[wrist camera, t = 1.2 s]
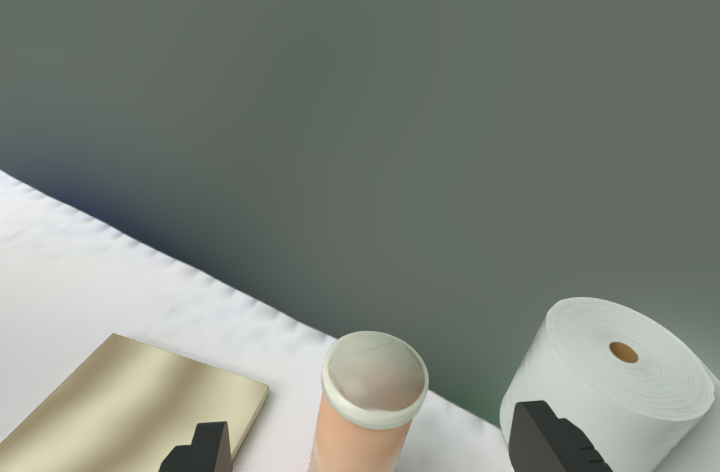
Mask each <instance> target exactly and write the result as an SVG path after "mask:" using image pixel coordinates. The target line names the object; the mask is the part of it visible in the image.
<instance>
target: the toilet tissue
mask: <svg viewBox="0 0 720 472" xmlns="http://www.w3.org/2000/svg"><path fill="white" fill-rule="evenodd" d="M539 400H544V401H546V402H547V403H548V405H549V406H550V407H551V409H552V410H553V412H554V413H555V414H556V416H557V417H558V419H559V418H566V419H568V420H569V421H570V422H572V423H573V424H574V425H575V426H577V427H578V428H579V429H581V430H582V431H583V432H584V433H585V435H586V436H587V437H588V439H589V440H590V441H591V443H592V444H593V445H594V448H595V450H597V451H598V452H599V453H600V455H601V456H602V457H603V459H604V462H605V463H607V464H608V465H609V467H610V468H611V469H612V470H613V472H720V381H719V380H718V379H717V378H716V377H715V376H714V375H713V374H712V373H711V371H710V370H709V369H708V368H707V367H706V366H705V365H704V364H703V362H702V361H701V360H700V359H699V358H698V357H697V356H696V355H695V354H694V353H693V352H692V351H691V350H690V349H689V348H688V347H687V346H686V345H685V344H684V343H683V342H682V341H681V340H679V339H678V338H677V337H676V336H675V335H673V334H672V333H671V332H670V331H668V330H667V329H665V328H664V327H663V326H661V325H660V324H658V323H657V322H655V321H653V320H652V319H650V318H648V317H646V316H644V315H643V314H641V313H638V312H636V311H634V310H632V309H630V308H628V307H625V306H622V305H619V304H617V303H613V302H610V301H606V300H602V299H596V298H588V297H574V298H569V299H565V300H560V301H559V302H557V303H556V304H555V305H554V306H553V307H552V308H551V309H550V310H549V311H548V313H547V315H546V317H545V319H544V321H543V323H542V324H541V326H540V329H539V330H538V332H537V334H536V336H535V339H534V340H533V342H532V343H531V346H530V349H529V350H528V351H527V353H526V355H525V357H524V359H523V362H522V363H521V364H520V367H519V368H518V370H517V372H516V374H515V376H514V379H513V381H512V382H511V384H510V387H509V388H508V390H507V393H506V394H505V396H504V397H503V400H502V403H501V408H500V425H501V429H502V432H503V436H504V438H505V440H506V442H507V445H508V449H509V438H510V432H511V426H512V419H513V413H514V408H515V404H516V403H517V402H524V401H539Z"/></svg>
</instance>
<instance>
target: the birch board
mask: <svg viewBox="0 0 720 472" xmlns="http://www.w3.org/2000/svg"><path fill="white" fill-rule="evenodd" d="M268 387H269V385H266V384H263V383H260V382H257V381H254V380H251V379H248V378H245V377H242V376H239V375H236V374H233V373H230V372H227V371H224V370H221V369H218V368H215V367H212V366H209V365H206V364H203V363H200V362H197V361H194V360H191V359H188V358H185V357H182V356H180V355H177V354H174V353H171V352H168V351H165V350H162V349H159V348H156V347H153V346H150V345H147V344H144V343H141V342H138V341H135V340H132V339H129V338H126V337H123V336H120V335H117V334H114V333H113V334H112V335H111V336H110V337H109V338H108V339H107V340H106V341H105V342H104V343H103V344H102V345H101V346H100V347H98V348H97V349H96V350H95V351H94V352H93V353H92V354H91V355H90V356H89V357H88V358H87V359H86V360H85V361H84V362H83V363H82V364H81V365H80V366H79V367H78V368H77V369H76V370H75V371H74V372H73V373H72V374H71V375H70V376H69V377H68V378H67V379H66V380H65V381H64V382H63V383H62V384H61V385H60V386H59V387H58V388H57V389H56V390H55V391H54V392H53V393H52V394H50V395H49V396H48V397H47V398H46V399H45V400H44V401H43V402H42V403H41V404H40V405H39V406H38V407H37V408H36V409H35V410H34V411H33V412H32V413H31V414H30V415H29V416H28V417H27V418H26V419H25V420H24V421H23V422H22V423H21V424H20V425H19V426H18V427H17V428H16V429H15V430H14V431H13V432H12V433H11V434H10V435H9V436H8V437H7V438H6V439H5V440H4V441H3V442H1V443H0V472H158V471H159V468H160V465H161V463H162V461H163V460H164V459H165V458H166V457H167V455H168V454H169V453H170V452H171V451H172V449H173V448H174V447H175V446H179V445H191V442H192V439H193V435H194V432H195V428H196V426H197V424H198V423H205V422H219V421H227V423H228V430H229V440H230V449H231V459H232V462H233V460H234V458H235V457H236V455H237V453H238V451H239V449H240V447H241V445H242V443H243V441H244V440H245V438H246V436H247V434H248V432H249V430H250V428H251V426H252V425H253V423H254V421H255V419H256V417H257V415H258V413H259V411H260V409H261V408H262V406H263V404H264V402H265V400H266V398H267V396H268Z"/></svg>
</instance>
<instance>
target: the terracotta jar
mask: <svg viewBox="0 0 720 472" xmlns="http://www.w3.org/2000/svg"><path fill="white" fill-rule="evenodd" d="M321 384H322V389H323V392H322V397H321V403H320V408H319V414H318V419H317V425H316V430H315V436H314V441H313V447H312V452H311V457H310V463H309V468H308V472H393V471H394V469H395V466H396V463H397V460H398V458H399V455H400V452H401V449H402V447H403V444H404V441H405V438H406V436H407V433H408V430H409V428H410V425H411V422H412V419H413V418H414V417H415V416H416V415H417V413H418V412H419V410H420V408H421V406H422V404H423V401H424V399H425V396H426V393H427V390H428V385H429V376H428V371H427V368H426V366H425V364H424V362H423V360H422V358H421V357H420V356H419V355H418V353H417V352H416V351H415V350H414V349H413V348H412V347H411V346H410V345H408V344H407V343H405V342H404V341H402V340H400V339H399V338H396V337H394V336H392V335H389V334H386V333H382V332H375V331H360V332H354V333H351V334H348V335H345V336H343V337H341V338H340V339H338V340H337V341H336V342H335V343H334V344H333V345H332V346H331V347H330V348H329V350H328V352H327V353H326V356H325V359H324V365H323V371H322V377H321Z"/></svg>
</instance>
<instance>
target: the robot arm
mask: <svg viewBox="0 0 720 472" xmlns="http://www.w3.org/2000/svg"><path fill="white" fill-rule="evenodd" d="M509 456H510V460H511V464H512V466H513V468H514V470H515V472H613V470H612V469H611V468H610V467H609V465H608V464H607V463H605V462H604V459H603V457H602V456H601V455H600V453H599V452H598V451H597V450H595V448H594V445H593V444H592V443H591V441H590V440H589V439H588V437H587V436H586V435H585V433H584V432H583V431H582V430H581V429H579V428H578V427H577V426H575V425H574V424H573V423H572V422H570V421H569V420H568V419H566V418H559V419H558V417H557V416H556V414H555V413H554V412H553V410H552V409H551V407H550V406H549V405H548V403H547V402H546V401H544V400H539V401H524V402H517V403H516V404H515V408H514V413H513V419H512V426H511V432H510V438H509ZM158 472H232V459H231V449H230V440H229V430H228V423H227V421H219V422H205V423H198V424H197V426H196V428H195V432H194V435H193V439H192V442H191V445H179V446H175V447H174V448H173V449H172V451H171V452H170V453H169V454H168V455H167V457H166V458H165V459H164V460H163V461H162V463H161V465H160V468H159V471H158Z"/></svg>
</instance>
